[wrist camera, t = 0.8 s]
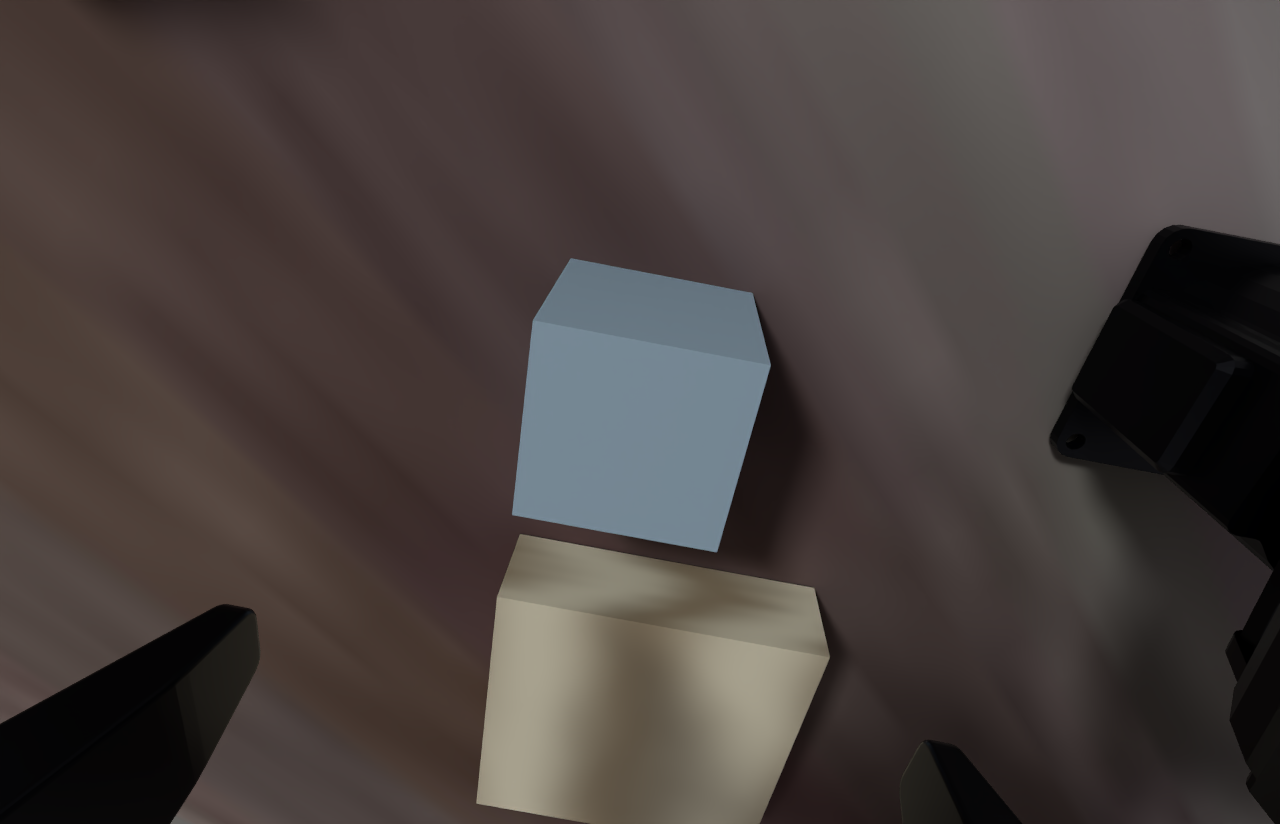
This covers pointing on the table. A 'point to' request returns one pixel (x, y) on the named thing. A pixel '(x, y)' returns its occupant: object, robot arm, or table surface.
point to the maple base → (643, 687)
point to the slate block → (639, 404)
